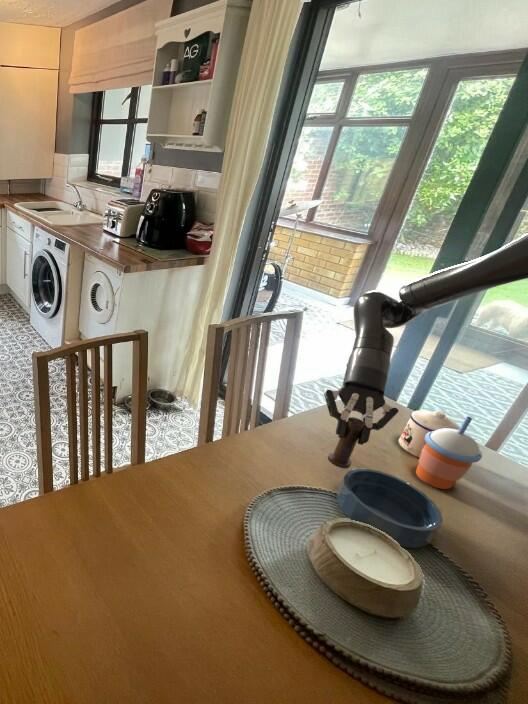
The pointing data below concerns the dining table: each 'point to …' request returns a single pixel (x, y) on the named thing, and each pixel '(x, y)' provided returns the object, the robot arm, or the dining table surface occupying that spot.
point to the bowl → (389, 506)
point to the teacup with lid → (423, 429)
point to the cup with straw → (447, 456)
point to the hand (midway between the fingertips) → (350, 440)
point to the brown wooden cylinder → (347, 443)
